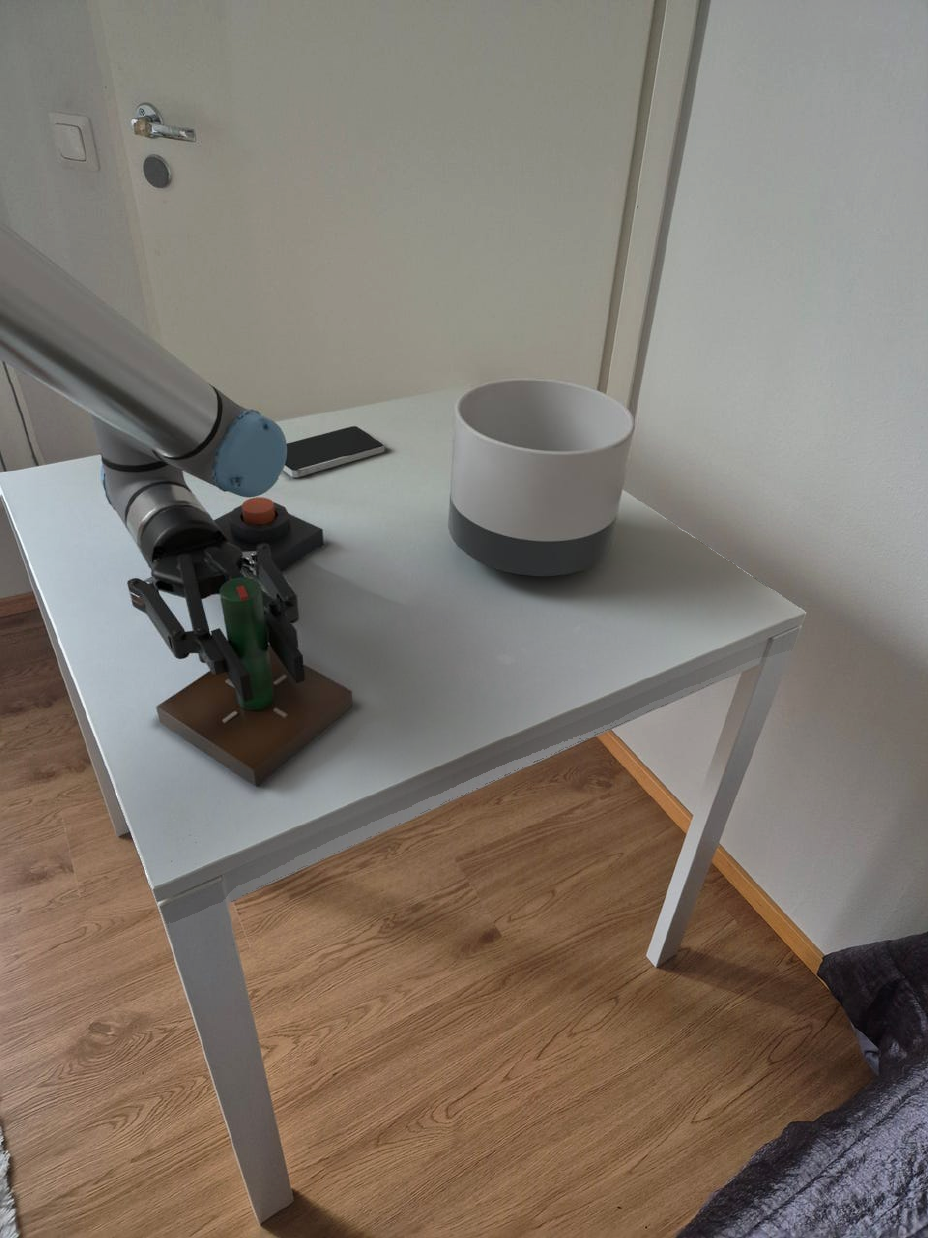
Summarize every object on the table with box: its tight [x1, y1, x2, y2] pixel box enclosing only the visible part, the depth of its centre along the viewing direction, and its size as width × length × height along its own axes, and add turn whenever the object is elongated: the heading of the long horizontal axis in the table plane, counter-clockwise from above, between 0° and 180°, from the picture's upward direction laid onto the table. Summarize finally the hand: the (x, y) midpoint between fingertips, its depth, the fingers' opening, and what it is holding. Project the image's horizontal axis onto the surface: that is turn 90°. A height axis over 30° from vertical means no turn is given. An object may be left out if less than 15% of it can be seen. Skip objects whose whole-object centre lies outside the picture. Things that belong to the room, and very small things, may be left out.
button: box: [241, 496, 275, 525], centre depth 91 cm, size 4×4×2 cm
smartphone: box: [282, 425, 386, 478], centre depth 112 cm, size 8×1×15 cm
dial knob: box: [219, 577, 274, 711], centre depth 67 cm, size 3×3×12 cm
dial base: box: [156, 643, 353, 787], centre depth 72 cm, size 12×12×2 cm
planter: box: [447, 377, 636, 577], centre depth 91 cm, size 19×19×18 cm
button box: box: [213, 501, 324, 572], centre depth 93 cm, size 11×9×4 cm
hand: (273, 678), depth 64 cm, fingers open, 4 cm apart
